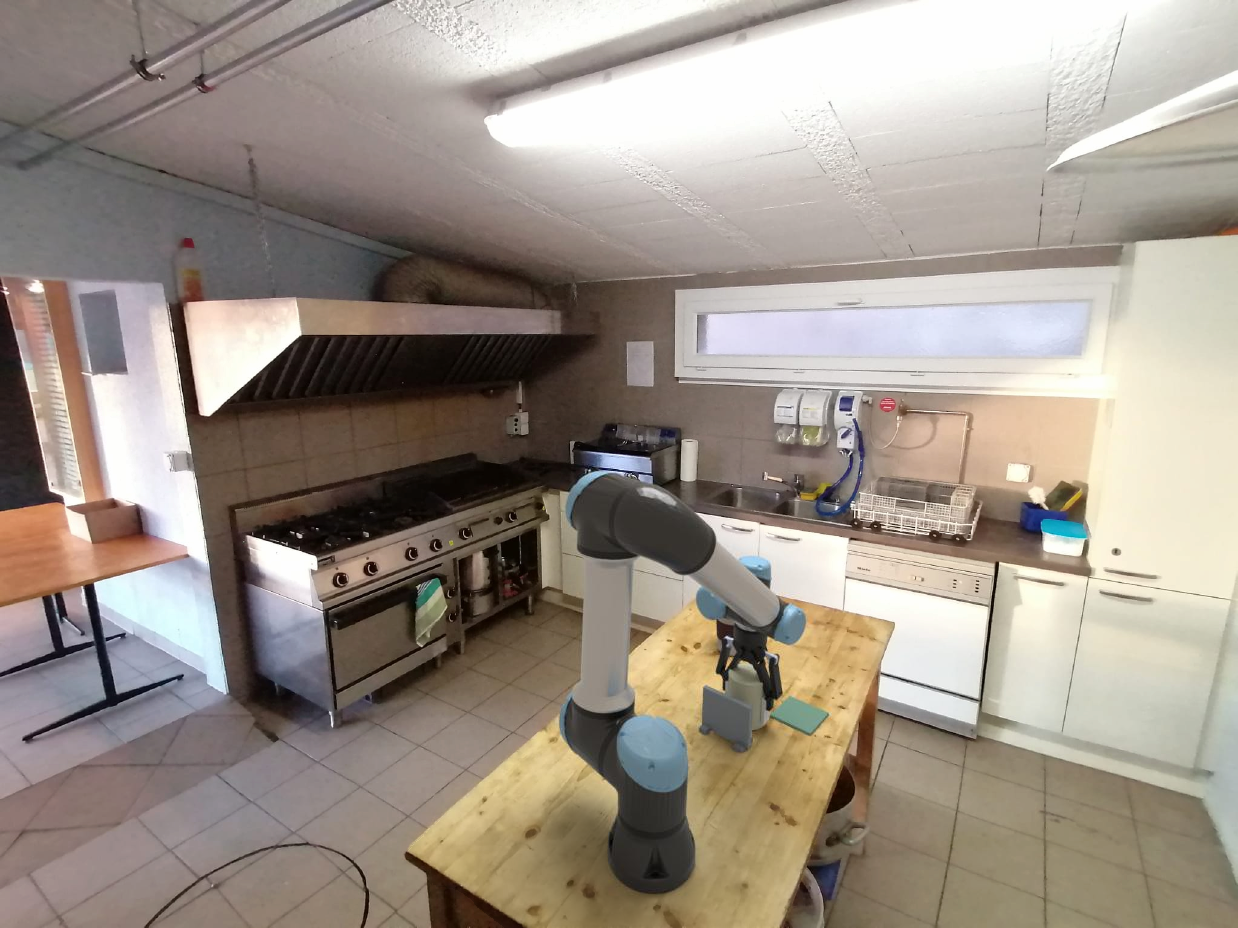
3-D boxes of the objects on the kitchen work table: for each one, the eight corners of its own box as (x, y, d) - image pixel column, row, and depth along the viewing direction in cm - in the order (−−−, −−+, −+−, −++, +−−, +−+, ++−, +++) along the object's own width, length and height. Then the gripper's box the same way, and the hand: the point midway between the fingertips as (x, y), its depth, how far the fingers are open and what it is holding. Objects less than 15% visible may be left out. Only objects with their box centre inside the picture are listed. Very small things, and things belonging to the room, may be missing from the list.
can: (767, 732, 133) (770, 685, 131) (725, 727, 135) (727, 680, 133) (765, 708, 142) (768, 663, 140) (726, 703, 144) (728, 658, 142)
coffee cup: (753, 647, 170) (756, 598, 167) (740, 662, 162) (743, 612, 159) (721, 637, 175) (723, 590, 172) (707, 652, 167) (709, 603, 164)
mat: (810, 735, 133) (810, 733, 132) (769, 716, 139) (770, 714, 139) (828, 714, 140) (828, 712, 140) (789, 697, 146) (789, 695, 146)
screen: (743, 754, 127) (745, 713, 124) (696, 729, 134) (698, 690, 132) (755, 742, 130) (757, 702, 128) (709, 719, 138) (710, 681, 136)
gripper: (803, 633, 129) (797, 724, 134) (719, 604, 143) (716, 687, 148) (787, 646, 124) (781, 740, 129) (701, 614, 138) (699, 700, 143)
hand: (746, 711), depth 138 cm, fingers closed on can, 9 cm apart
